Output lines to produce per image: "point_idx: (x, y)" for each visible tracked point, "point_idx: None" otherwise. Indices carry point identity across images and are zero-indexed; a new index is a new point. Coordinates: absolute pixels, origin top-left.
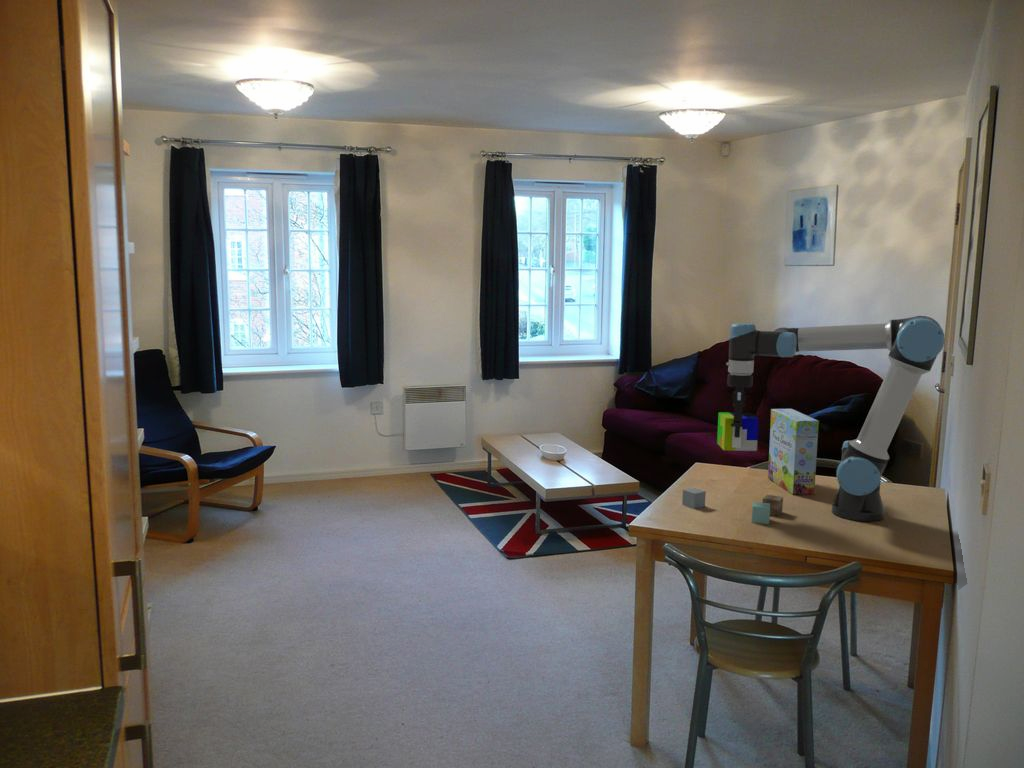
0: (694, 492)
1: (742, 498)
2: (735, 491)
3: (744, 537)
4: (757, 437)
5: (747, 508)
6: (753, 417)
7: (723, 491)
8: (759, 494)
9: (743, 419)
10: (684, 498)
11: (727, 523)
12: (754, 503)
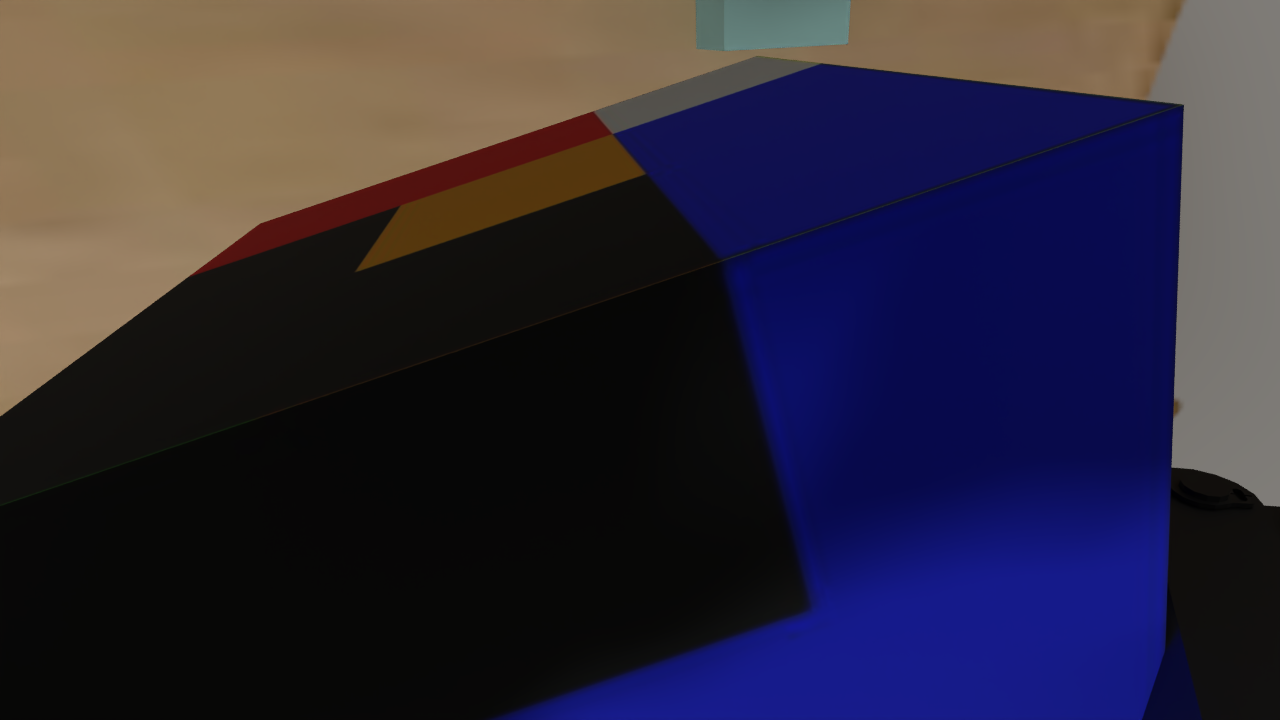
0: None
1: (234, 151)
2: (56, 221)
3: (1099, 68)
4: (844, 67)
5: (489, 93)
6: (929, 330)
7: (121, 303)
8: (12, 21)
9: (1143, 565)
10: None
11: None
12: (763, 34)
